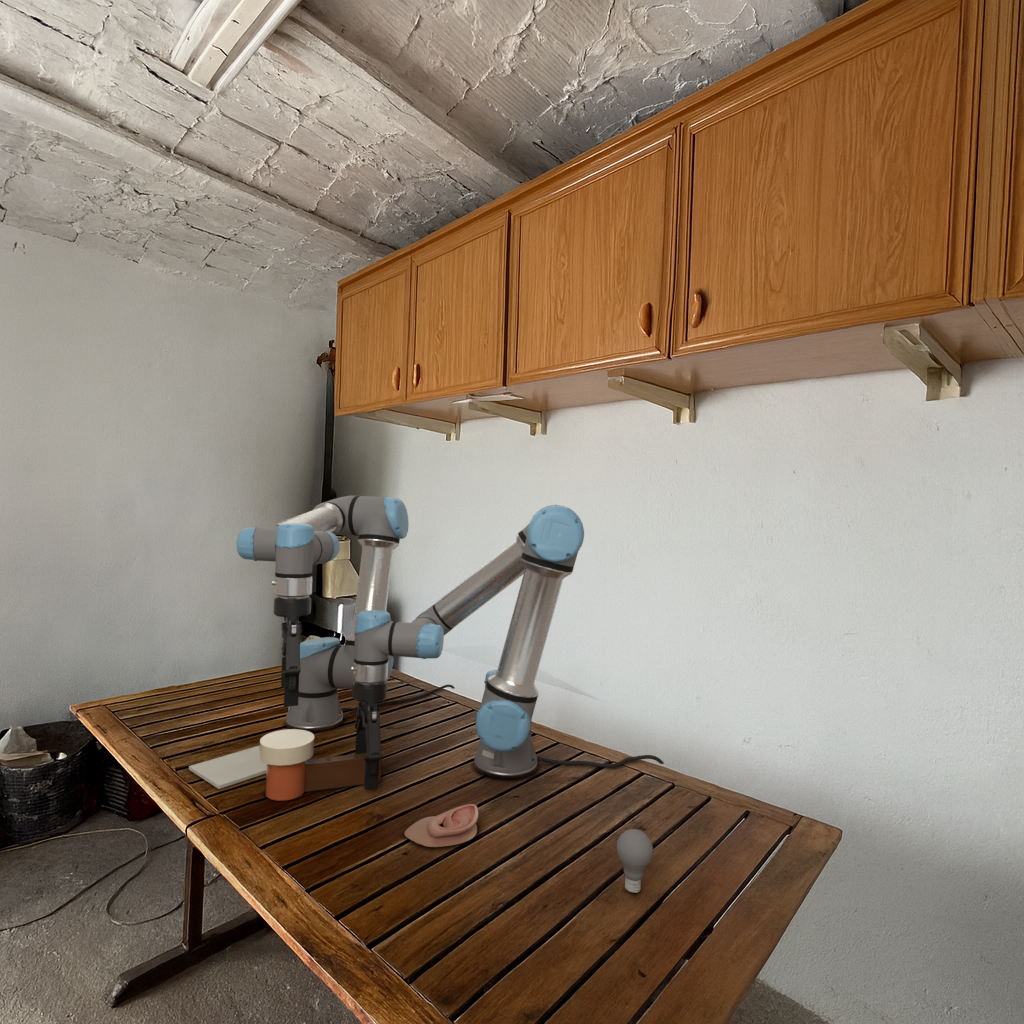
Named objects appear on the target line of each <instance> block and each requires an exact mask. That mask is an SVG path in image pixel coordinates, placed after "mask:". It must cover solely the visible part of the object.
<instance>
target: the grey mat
mask: <svg viewBox="0 0 1024 1024" xmlns="http://www.w3.org/2000/svg"><path fill="white" fill-rule="evenodd" d="M259 751H260V744H259V745H257V746H253V747H249V748H247V749H243V750H239V751H235V752H232V753H229V754H226V755H223V756H219V757H216V758H212V759H209V760H204V761H202V762H198V763H196V764H191V765H189V766H188V770H189V771H190V772H191V773H193V774H194V775H197V776H198V777H199V778H201V779H202V780H204V781H205V782H208V783H209V784H210V785H212V786H213V787H214V788H216V789H218V790H221V789H224V788H226V787H230V786H232V785H236V784H238V783H239V784H240V783H242V782H245V781H248V780H251V779H254V778H257V777H259V776H264V775H266V768H267V764H266V763H263V762H262V761H261V760H260V759H259Z"/></svg>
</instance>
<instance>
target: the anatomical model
mask: <svg viewBox="0 0 1024 1024" xmlns="http://www.w3.org/2000/svg"><path fill="white" fill-rule="evenodd" d="M478 820H479V809H478V806H477V805H476V804H475V803H468V804H463V805H460V806H456V807H454V808H451V809H449V810H447V811H444V812H442V813H440V814H438V815H435V816H432V815H431V816H426V817H423V818H421V819H419V820H417V821H416V822H414V823H413V824H411V825H410V826H408V828H407V829H406V830H405V831H404V836H405V837H406V838H407V839H408V840H410V841H412V842H414V843H415V844H418V845H421V846H423V847H427V848H442V847H451V846H456V845H461V844H464V843H466V842H469V841H471V840H472V839H473V838H474V837H476V835H477V833H478V825H477V822H478Z"/></svg>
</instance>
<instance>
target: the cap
mask: <svg viewBox="0 0 1024 1024" xmlns="http://www.w3.org/2000/svg"><path fill="white" fill-rule="evenodd" d="M259 745H260V751H259V759H260V760H261V761H262V762H263V763H266V764H269V765H279V766H282V765H292V764H297V763H301V762H304V761H306V760H308V759H312V757H313V756H314V754H315V734H314V732H309V731H306V730H299V729H289V728H287V729H282V730H281V729H279V730H275V731H272V732H269V733H267V734H265V735H263V736H262V737H260V739H259Z"/></svg>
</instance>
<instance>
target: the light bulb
mask: <svg viewBox="0 0 1024 1024" xmlns="http://www.w3.org/2000/svg"><path fill="white" fill-rule="evenodd" d="M615 849H616V854H617V857H618V859H619V861H620V863H621V865H622V867H623V873H624V874H623V875H624V876H625V878H624V888H625V890H627V891H628V892H630V893H634V894H635V893H639V892H640V891H641V889H642V887H641V886H642V879H643V877H644V875H645V871H646V868H647V867H648V866H649V864H650V863H651V861H652V859H653V855H654V847H653V843H652V841H651V838H649V836H648V835H647V834H646V833H645V832H643V831H642V830H641V829H636V828H629V829H627V830H625V831H623V832H622V833H621V834H620V835H619V837H618V839H617V841H616V847H615Z"/></svg>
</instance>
